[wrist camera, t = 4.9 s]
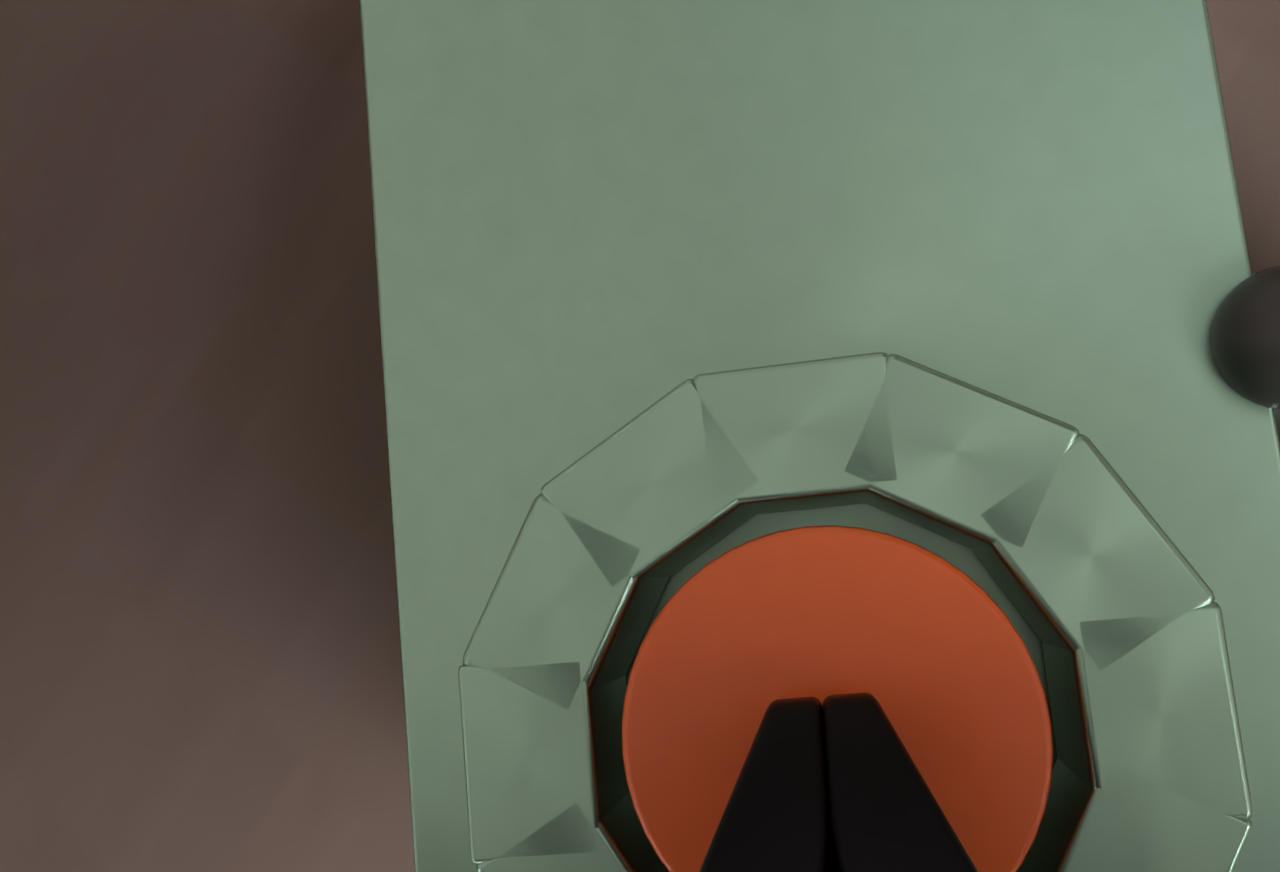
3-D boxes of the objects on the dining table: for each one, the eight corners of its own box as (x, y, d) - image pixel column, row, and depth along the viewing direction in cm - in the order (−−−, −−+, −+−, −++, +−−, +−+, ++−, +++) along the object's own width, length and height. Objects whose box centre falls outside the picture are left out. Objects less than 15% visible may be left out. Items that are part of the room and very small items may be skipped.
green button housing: (1200, 885, 16) (1487, 1142, 9) (561, 916, 18) (351, 1157, 10) (1077, 57, 18) (1232, -308, 10) (500, 149, 19) (281, -114, 12)
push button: (1046, 893, 11) (1084, 955, 9) (673, 912, 12) (640, 972, 10) (996, 515, 12) (1023, 504, 10) (639, 550, 12) (602, 546, 10)
